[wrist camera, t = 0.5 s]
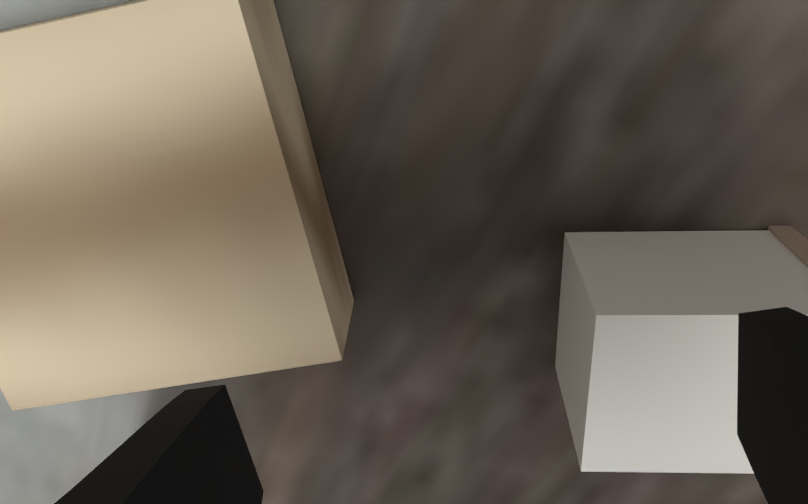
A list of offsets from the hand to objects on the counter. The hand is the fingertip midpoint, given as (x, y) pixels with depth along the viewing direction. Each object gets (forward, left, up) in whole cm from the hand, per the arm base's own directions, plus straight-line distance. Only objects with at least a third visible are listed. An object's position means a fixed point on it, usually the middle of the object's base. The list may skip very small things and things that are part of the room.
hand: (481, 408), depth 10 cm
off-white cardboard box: (-4, -2, -7) cm, 9 cm away
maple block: (+2, +8, -9) cm, 12 cm away
